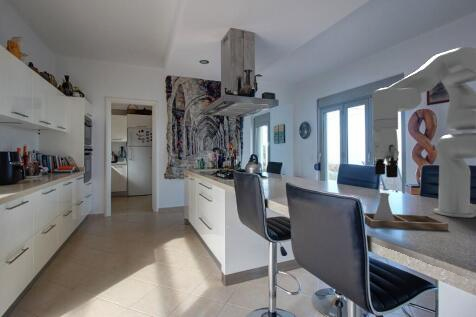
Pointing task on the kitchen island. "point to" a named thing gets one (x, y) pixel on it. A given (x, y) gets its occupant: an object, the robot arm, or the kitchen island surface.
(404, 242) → the kitchen island surface
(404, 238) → the kitchen island surface
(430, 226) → the divider frame
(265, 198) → the kitchen island surface
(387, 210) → the flask
